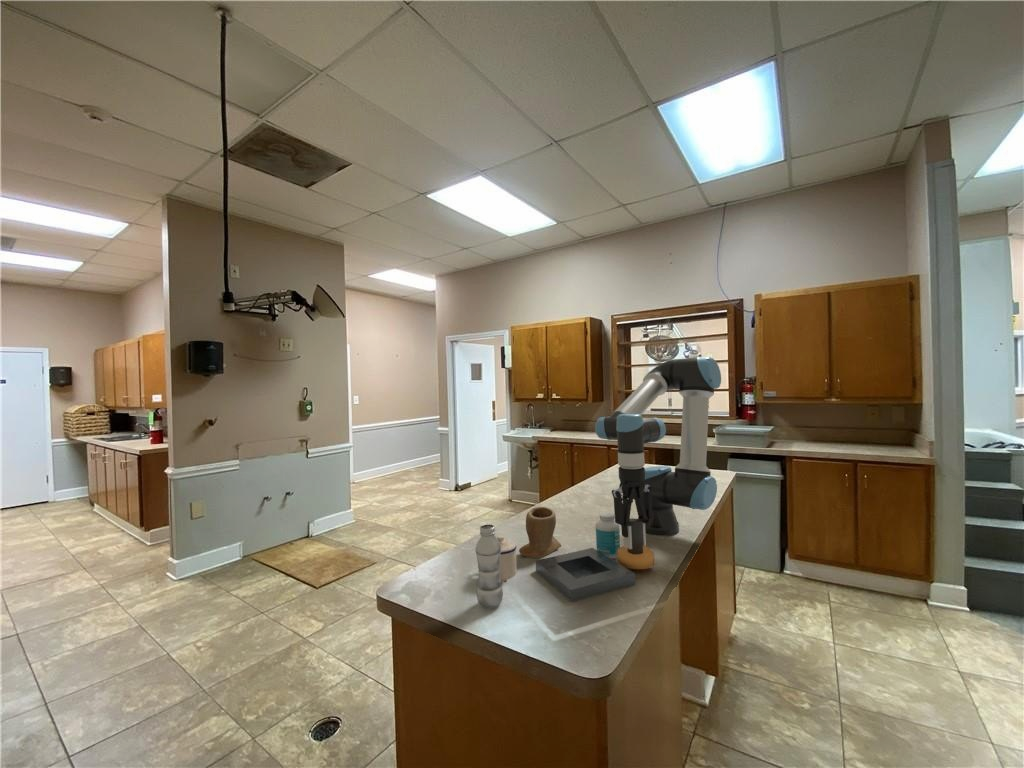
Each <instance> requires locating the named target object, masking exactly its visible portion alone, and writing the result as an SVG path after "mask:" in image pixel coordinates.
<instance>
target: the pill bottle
mask: <svg viewBox="0 0 1024 768" xmlns="http://www.w3.org/2000/svg"><path fill="white" fill-rule="evenodd" d="M620 538H621V534H620V525H619V524H617V523H615V513H612V512H601V513H599V520H598V521H596V522H595V541H596V550H597V551H599V552H600V553H602V554H604V555H605V556H607V557H609V558H611V559H612V560H614V559H618V548H620V547H621V539H620Z"/></svg>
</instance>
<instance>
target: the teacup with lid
mask: <svg viewBox="0 0 1024 768" xmlns="http://www.w3.org/2000/svg"><path fill="white" fill-rule="evenodd" d="M496 538H497V539H498V541H499V542H500V545H501V554H500V580H501V583H507V581H508V579H511V578H514V577H515V576H516V575H517V571H518V569H517V550H516V549H517V545H516V543H515V542H514V541H513V540H510V539H507V538H505V537H504V536H503V535H498V536H496Z"/></svg>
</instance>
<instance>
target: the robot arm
mask: <svg viewBox="0 0 1024 768" xmlns="http://www.w3.org/2000/svg"><path fill="white" fill-rule="evenodd" d="M721 374H722V373H721V369H720V367H719V364H718V362H717V361H716V360H715V359H714V358H713V357H711V356H697V357H695V356H694V357H686V358H674V359H668V360H665V361H663V362H662V363H660V364H658V365H657V366H655V367H654V368H651V370H650V371H649V372H647V373H646V374H645V376H644V377H643V380H642V383H640V385H638V387H637V388H636V389H635V390H634V391H633V392H632V393H631V394H630V395H629V396H628V397H627V398H626V399H625V400H624V401H623V402H622V403H621V404H620V405H619V406H618V407H617V408H616V409H615V410H614V411H613V412H612V413H611V414H610V415H609V416H603V417H602V416H601V417H599V418H598V419H596V422H595V426H594V431H595V433H596V436H597V437H598V438H599V439H601V440H608V441H617V462H618V463H617V464H618V466H619V467H618V468H617V469H618V479H619V483H620V484H619V485H618V488H617V489H612V490H611V495H612V497H613V509H614V510H613V511H614V516H615V519H614V520H615V523H617V524H619V526H621V528H620V529H621V536H622V537H623V546H625V547H627V548H629V549H632V533H631V526H629V519H631V518H630V517H631V512H632V511H631V510H632V505H633V502H634V503H635V508H636V511H637V519H640V520H641V521H642V536H643V546H644V547H647V539H646V538H647V537H646V535H651V536H652V535H653V536H658V537H659V536H661V537H662V536H663V537H665V536H672V535H675V534H676V535H677V533H679V532H680V524H679V522H678V519H677V516H676V513H675V511H674V506H679V507H684V508H688V509H692V510H701V511H705V510H708V509H710V508H711V507H712V505H713V504H714V502H715V500H716V496H717V492H718V484H717V480H716V478H715V477H713V476H712V475H711V473H712V472H711V470H710V469H709V468H708V466H707V454H708V453H707V452H708V431H709V430H708V429H709V427H708V426H709V408H710V401H709V400H710V398H711V397H713V396H714V394H715V390H717V389H718V388H720V387H721V384H722V375H721ZM673 390H679V391H678V393H679V394H680V396H682V397H683V398H682V413H681V414H682V417H681V432H680V433H681V434H680V435H681V436H680V452H679V453H680V454H679V463H678V464H677V465H676V466H674V471H673V470H672V467H671V466H669V465H668V466H667V465H661V466H659V465H658V466H657V465H655V466H648V467H644V466H645V465H646V464H645V444H650V443H656V442H659V441H660V440H662V439H664V437H665V436H666V433H667V427H666V424H665V423H664V421H663V420H662V419H661V418H658V417H653V416H652V417H649V416H648V417H646V418H645V417H644V418H643V416H642V415H643V414H644V413H645V412H646V410H647V409H649V407H650V406H651V405H652V404H653V402H655V401H656V399H657V398H659V396H662V395H665V393H666V392H667V391H673Z"/></svg>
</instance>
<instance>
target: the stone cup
mask: <svg viewBox="0 0 1024 768" xmlns="http://www.w3.org/2000/svg"><path fill="white" fill-rule="evenodd" d="M526 513H527V514H526V516H525V531H526V534H527V538H528V543H527V544H524V545H523V546H521V547H519V550H518V552H519V554H520V555H522V556H524V557H525V558H531V559H540V558H544V557H546V556H548V555H550V554H552V553H553V552H555V551H556V550H558V549H559V548H561V547H562V544H561V542H560V541H558V539H556V538H555V536H554V533H555V529H556V525H557V516H556V515H557V514H556V513H555V510H553V509H552V508H550V507H547V506H536V507H533V508H531V509H530V510H529V511H527V512H526Z"/></svg>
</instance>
